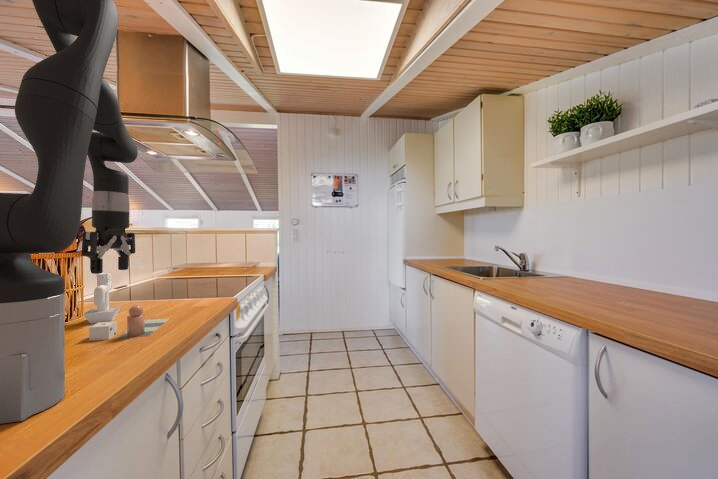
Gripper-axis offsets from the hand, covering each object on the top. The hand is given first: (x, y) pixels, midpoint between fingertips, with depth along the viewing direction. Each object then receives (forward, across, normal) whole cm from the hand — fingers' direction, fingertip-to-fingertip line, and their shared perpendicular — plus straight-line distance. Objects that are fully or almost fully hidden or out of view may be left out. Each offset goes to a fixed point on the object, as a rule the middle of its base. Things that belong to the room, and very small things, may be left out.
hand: (110, 271), depth 75 cm
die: (+17, -2, 0) cm, 17 cm away
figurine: (+17, +12, +12) cm, 24 cm away
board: (+17, +5, -6) cm, 19 cm away
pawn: (+16, -1, -7) cm, 18 cm away
